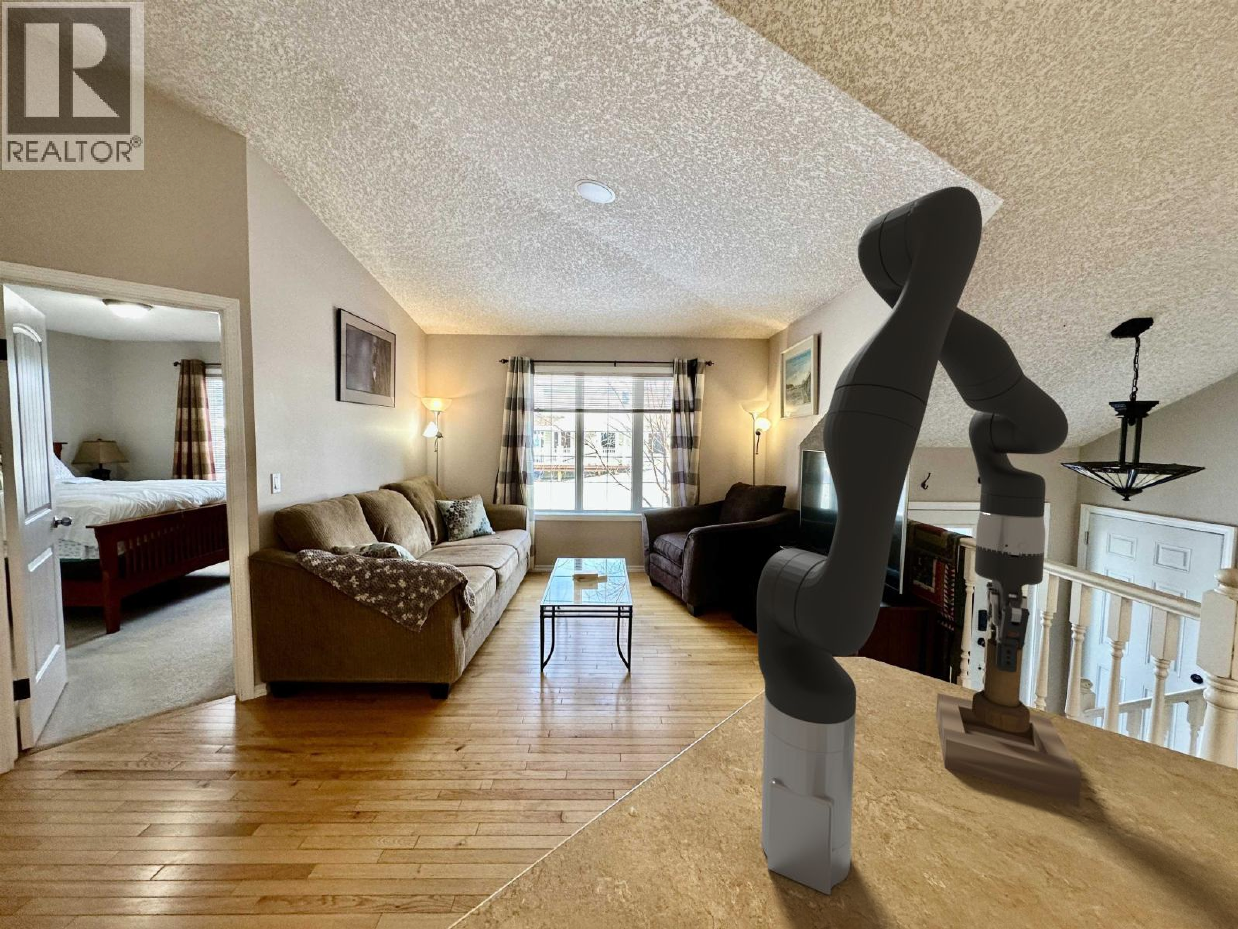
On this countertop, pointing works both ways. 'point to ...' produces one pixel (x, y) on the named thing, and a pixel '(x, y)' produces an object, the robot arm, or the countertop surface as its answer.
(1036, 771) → the brown flat square frame
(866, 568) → the robot arm
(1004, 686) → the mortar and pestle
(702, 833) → the countertop surface
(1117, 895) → the countertop surface
